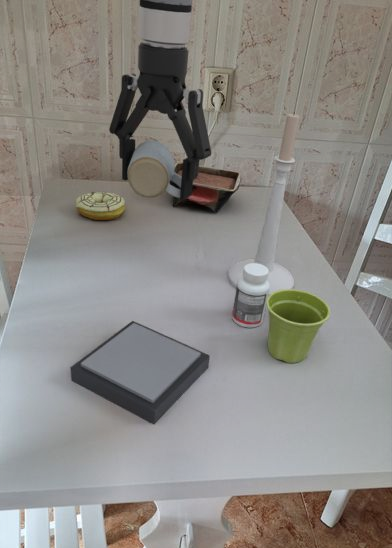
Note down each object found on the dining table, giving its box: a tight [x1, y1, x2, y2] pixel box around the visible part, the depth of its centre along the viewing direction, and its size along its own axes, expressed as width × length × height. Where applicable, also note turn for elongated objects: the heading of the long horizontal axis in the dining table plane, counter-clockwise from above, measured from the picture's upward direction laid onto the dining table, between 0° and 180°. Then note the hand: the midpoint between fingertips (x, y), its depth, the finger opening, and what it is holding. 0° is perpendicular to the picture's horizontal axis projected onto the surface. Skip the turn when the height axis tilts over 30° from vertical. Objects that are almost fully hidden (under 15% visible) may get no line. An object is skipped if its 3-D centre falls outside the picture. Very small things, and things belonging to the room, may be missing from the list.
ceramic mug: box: [127, 140, 182, 199], centre depth 84 cm, size 11×8×8 cm
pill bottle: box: [231, 263, 270, 329], centre depth 80 cm, size 5×5×10 cm
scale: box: [69, 320, 211, 425], centre depth 69 cm, size 14×14×3 cm
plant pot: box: [266, 288, 331, 364], centre depth 75 cm, size 9×9×9 cm
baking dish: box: [169, 162, 242, 214], centre depth 120 cm, size 14×18×10 cm
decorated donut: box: [75, 191, 126, 221], centre depth 110 cm, size 10×11×4 cm
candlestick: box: [227, 112, 301, 296], centre depth 85 cm, size 13×13×30 cm
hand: (156, 187), depth 86 cm, fingers closed on ceramic mug, 11 cm apart
